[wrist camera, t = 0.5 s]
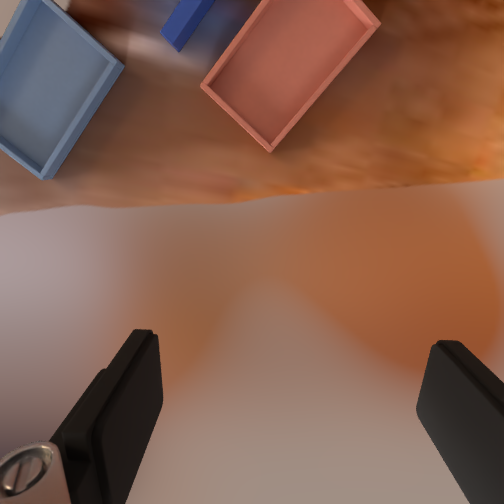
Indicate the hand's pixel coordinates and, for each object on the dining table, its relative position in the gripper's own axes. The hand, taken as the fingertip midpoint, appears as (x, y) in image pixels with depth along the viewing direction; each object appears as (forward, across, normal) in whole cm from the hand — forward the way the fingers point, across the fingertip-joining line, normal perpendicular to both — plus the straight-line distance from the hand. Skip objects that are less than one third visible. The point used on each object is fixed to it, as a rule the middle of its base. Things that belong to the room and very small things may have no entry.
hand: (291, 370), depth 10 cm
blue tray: (+29, +25, -13) cm, 41 cm away
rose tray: (+29, -1, -16) cm, 33 cm away
